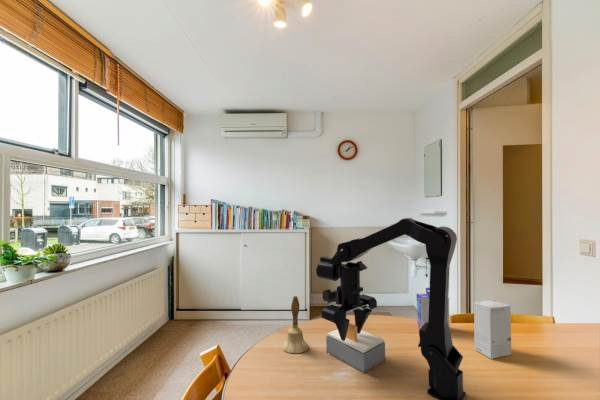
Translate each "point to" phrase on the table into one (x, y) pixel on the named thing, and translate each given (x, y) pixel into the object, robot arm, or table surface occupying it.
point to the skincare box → (492, 328)
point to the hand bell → (295, 333)
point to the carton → (356, 354)
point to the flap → (357, 339)
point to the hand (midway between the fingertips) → (350, 336)
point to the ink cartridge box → (424, 308)
